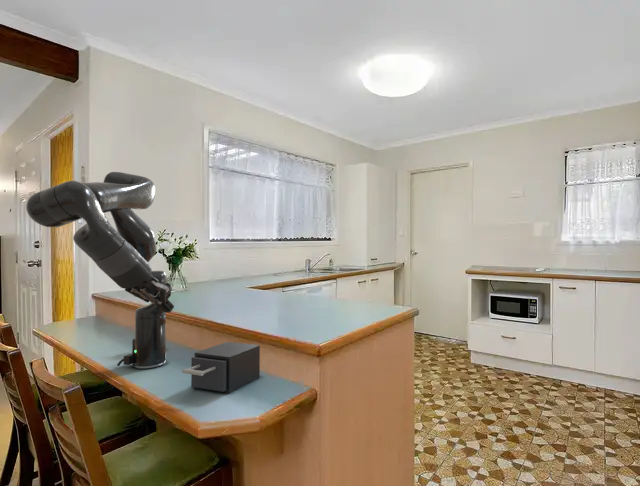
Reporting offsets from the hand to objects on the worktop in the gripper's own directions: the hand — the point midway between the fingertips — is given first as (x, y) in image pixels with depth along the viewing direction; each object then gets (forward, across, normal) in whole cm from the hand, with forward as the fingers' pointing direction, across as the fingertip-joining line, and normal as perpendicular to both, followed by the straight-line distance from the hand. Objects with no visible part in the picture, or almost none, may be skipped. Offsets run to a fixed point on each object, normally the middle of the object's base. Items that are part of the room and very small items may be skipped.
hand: (169, 309), depth 92 cm
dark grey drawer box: (+33, 0, +3) cm, 33 cm away
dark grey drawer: (+29, 0, +6) cm, 30 cm away
